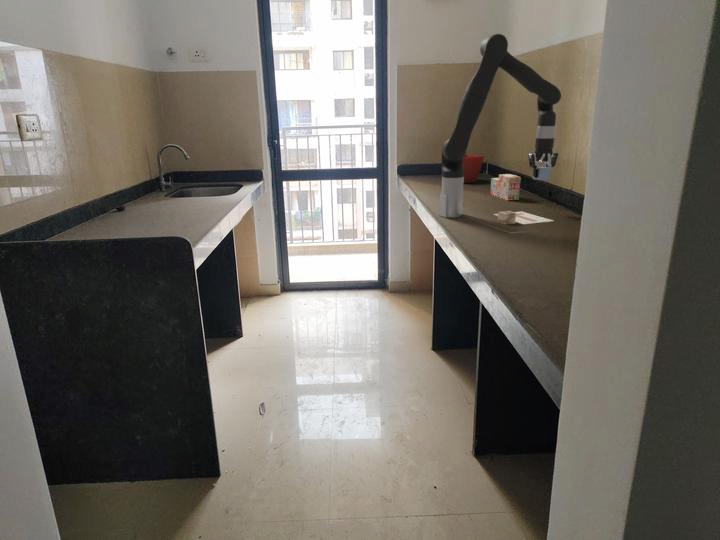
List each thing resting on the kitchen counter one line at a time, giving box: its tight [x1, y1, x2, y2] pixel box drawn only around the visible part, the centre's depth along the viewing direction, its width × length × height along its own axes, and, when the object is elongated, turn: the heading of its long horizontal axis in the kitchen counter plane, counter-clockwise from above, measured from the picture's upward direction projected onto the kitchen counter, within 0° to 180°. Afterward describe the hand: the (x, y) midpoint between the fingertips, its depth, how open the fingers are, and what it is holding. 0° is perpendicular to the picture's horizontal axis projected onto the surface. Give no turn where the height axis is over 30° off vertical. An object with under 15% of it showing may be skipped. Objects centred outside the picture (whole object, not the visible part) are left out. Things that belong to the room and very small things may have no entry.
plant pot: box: [463, 153, 485, 184], centre depth 317 cm, size 19×19×17 cm
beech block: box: [496, 210, 516, 225], centre depth 197 cm, size 5×5×5 cm
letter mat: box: [492, 211, 554, 225], centre depth 206 cm, size 15×22×1 cm
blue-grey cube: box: [532, 166, 552, 181], centre depth 212 cm, size 5×5×5 cm
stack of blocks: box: [490, 173, 522, 201], centre depth 256 cm, size 21×6×12 cm, turn 10°
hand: (541, 177), depth 213 cm, fingers closed on blue-grey cube, 5 cm apart
